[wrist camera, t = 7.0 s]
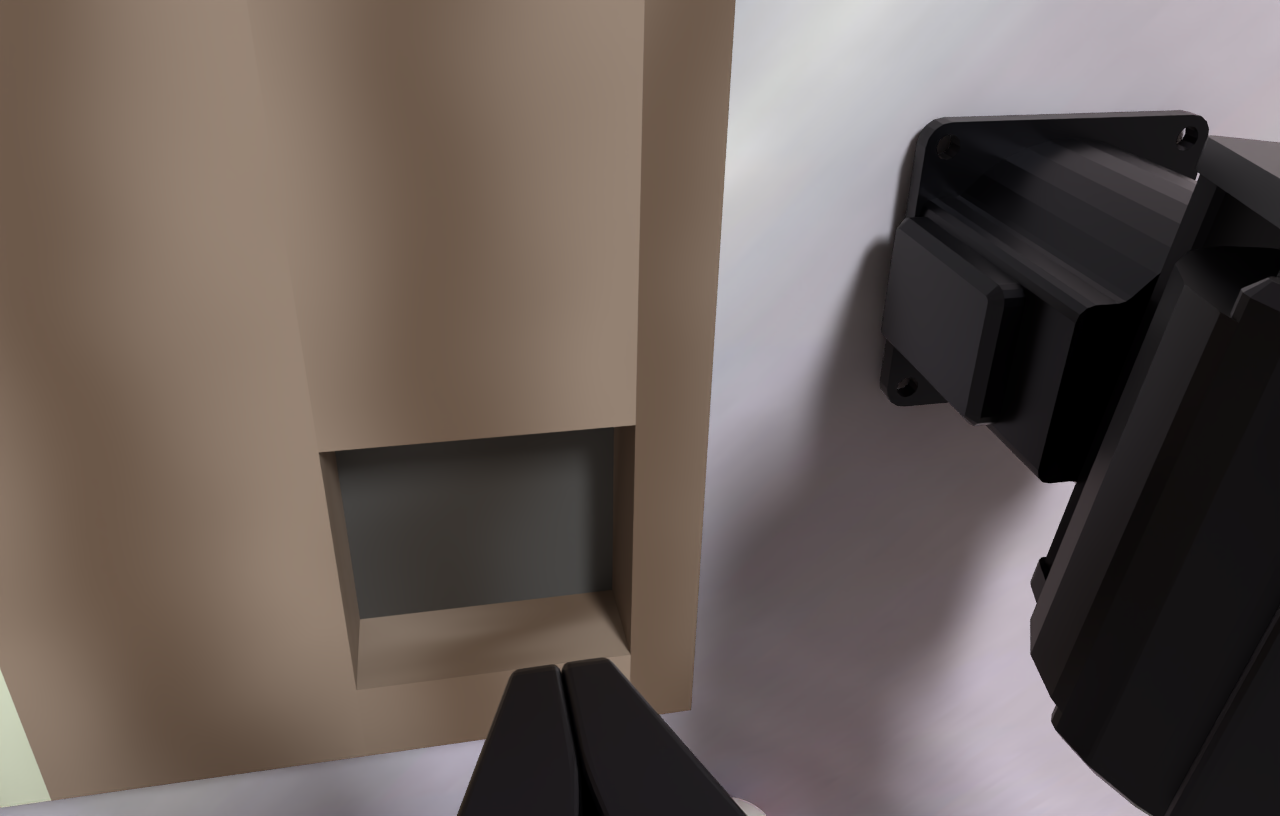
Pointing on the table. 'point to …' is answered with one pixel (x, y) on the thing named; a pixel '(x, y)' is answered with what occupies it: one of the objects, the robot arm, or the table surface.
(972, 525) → the table surface
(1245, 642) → the robot arm
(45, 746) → the trap box
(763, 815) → the molecule
